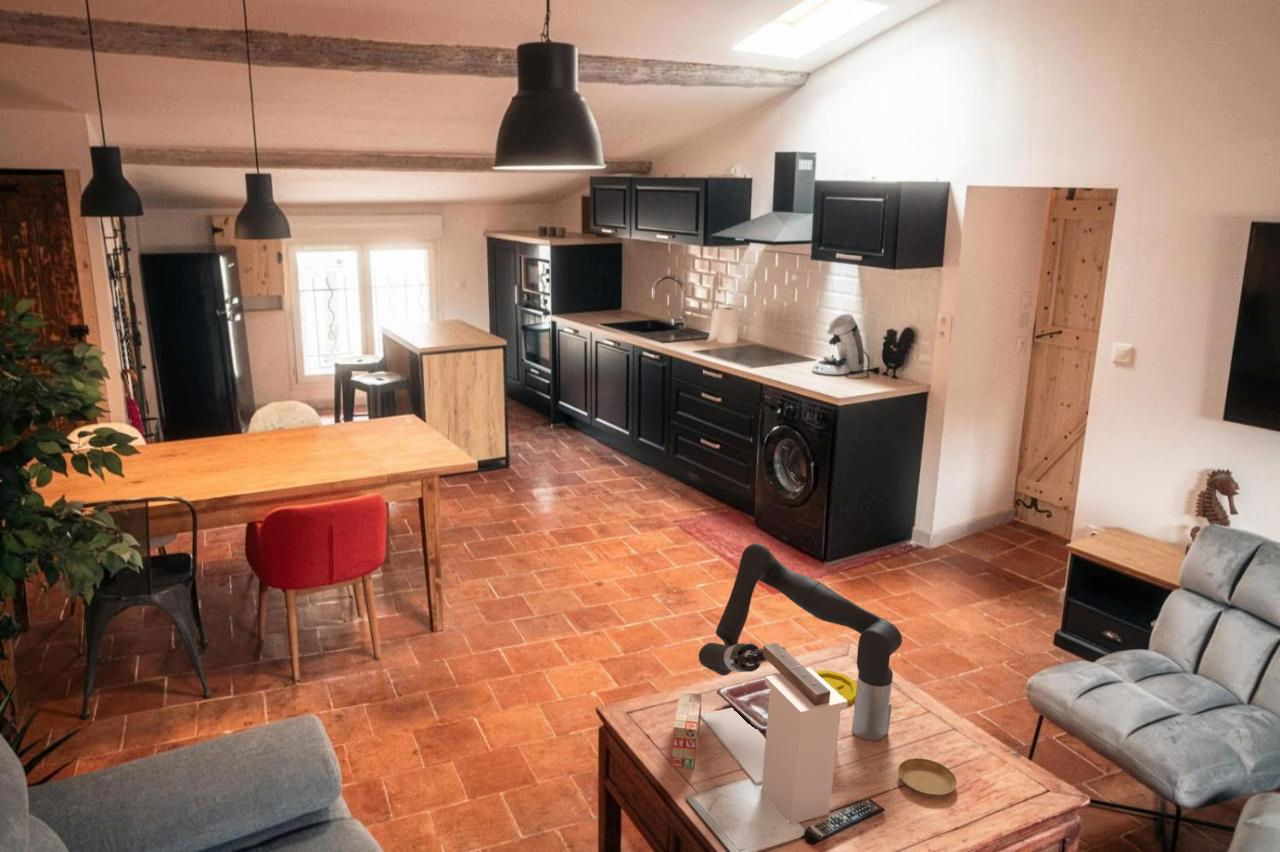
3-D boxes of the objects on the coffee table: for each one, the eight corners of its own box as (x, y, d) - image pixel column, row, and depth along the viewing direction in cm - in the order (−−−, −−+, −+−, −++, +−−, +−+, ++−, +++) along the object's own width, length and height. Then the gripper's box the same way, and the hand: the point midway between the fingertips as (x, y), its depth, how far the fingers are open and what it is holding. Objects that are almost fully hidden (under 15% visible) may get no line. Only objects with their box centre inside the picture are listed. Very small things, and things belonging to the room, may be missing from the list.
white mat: (736, 708, 263) (736, 706, 263) (795, 774, 235) (795, 772, 235) (700, 716, 258) (700, 714, 258) (755, 784, 230) (756, 782, 230)
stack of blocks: (678, 720, 256) (680, 682, 253) (700, 722, 256) (703, 684, 252) (671, 767, 236) (673, 726, 233) (694, 769, 235) (697, 729, 232)
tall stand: (799, 776, 234) (810, 667, 225) (834, 815, 220) (847, 701, 211) (756, 787, 229) (765, 676, 220) (789, 828, 215) (800, 711, 206)
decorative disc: (792, 679, 280) (792, 673, 280) (843, 674, 284) (844, 668, 284) (814, 709, 265) (815, 703, 264) (868, 703, 269) (869, 697, 268)
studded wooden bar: (776, 653, 232) (777, 642, 231) (829, 702, 210) (830, 690, 210) (762, 655, 230) (763, 644, 229) (814, 705, 209) (816, 694, 208)
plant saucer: (884, 773, 237) (886, 764, 236) (928, 761, 243) (930, 752, 242) (922, 808, 224) (923, 800, 223) (968, 795, 230) (969, 786, 229)
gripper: (716, 648, 243) (744, 645, 228) (762, 639, 248) (791, 636, 234) (721, 676, 241) (749, 675, 227) (767, 667, 247) (797, 666, 232)
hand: (771, 656), depth 230 cm, fingers open, 8 cm apart
